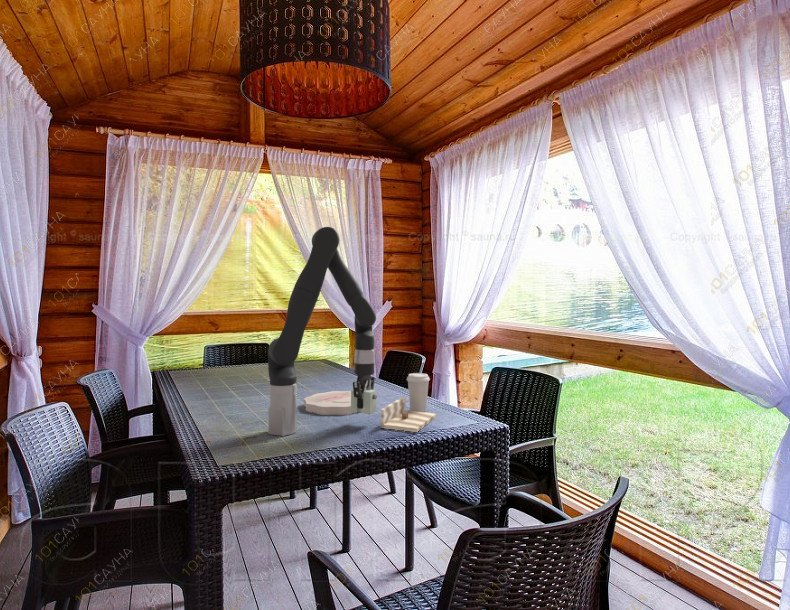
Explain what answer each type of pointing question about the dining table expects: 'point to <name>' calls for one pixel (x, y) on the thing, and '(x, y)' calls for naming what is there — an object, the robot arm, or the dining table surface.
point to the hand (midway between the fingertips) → (363, 406)
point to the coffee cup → (418, 391)
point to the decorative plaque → (330, 403)
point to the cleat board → (411, 421)
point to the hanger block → (365, 402)
